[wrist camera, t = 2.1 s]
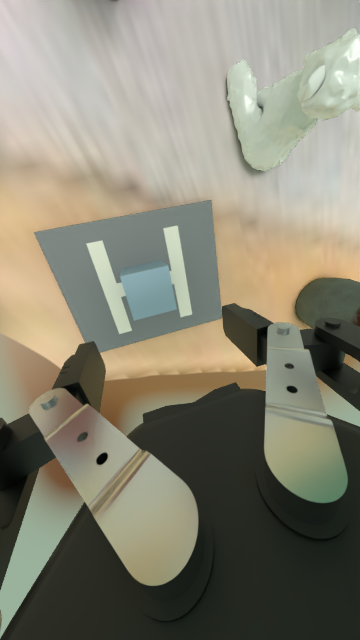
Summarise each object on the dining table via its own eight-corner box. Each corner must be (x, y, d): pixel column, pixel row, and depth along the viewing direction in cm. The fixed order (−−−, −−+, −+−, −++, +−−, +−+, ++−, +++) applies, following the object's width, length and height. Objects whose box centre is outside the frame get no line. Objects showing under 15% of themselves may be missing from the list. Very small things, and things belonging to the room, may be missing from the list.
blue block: (160, 260, 24) (168, 265, 20) (168, 296, 27) (176, 309, 22) (121, 268, 24) (119, 276, 19) (132, 306, 26) (133, 320, 21)
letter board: (209, 200, 24) (211, 199, 23) (220, 316, 31) (221, 318, 30) (36, 232, 21) (33, 232, 20) (91, 352, 28) (91, 355, 27)
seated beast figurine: (303, 81, 21) (479, -73, 11) (288, 176, 25) (409, 132, 14) (224, 70, 19) (343, -132, 9) (220, 175, 23) (301, 122, 12)
